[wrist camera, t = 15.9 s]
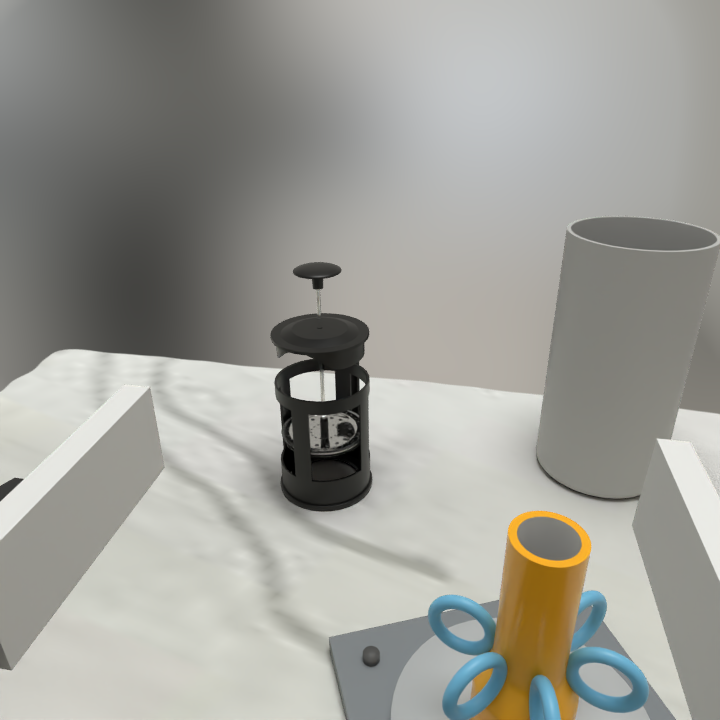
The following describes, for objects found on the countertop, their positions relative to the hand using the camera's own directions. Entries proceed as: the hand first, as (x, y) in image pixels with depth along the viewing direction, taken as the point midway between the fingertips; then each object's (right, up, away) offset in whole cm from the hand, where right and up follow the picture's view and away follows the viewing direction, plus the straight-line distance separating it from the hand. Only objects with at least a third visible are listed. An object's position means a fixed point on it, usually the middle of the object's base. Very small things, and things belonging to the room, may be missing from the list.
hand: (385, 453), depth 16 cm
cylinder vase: (+25, -9, +49) cm, 55 cm away
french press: (-4, -10, +47) cm, 48 cm away
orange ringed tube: (+9, -20, +21) cm, 30 cm away
